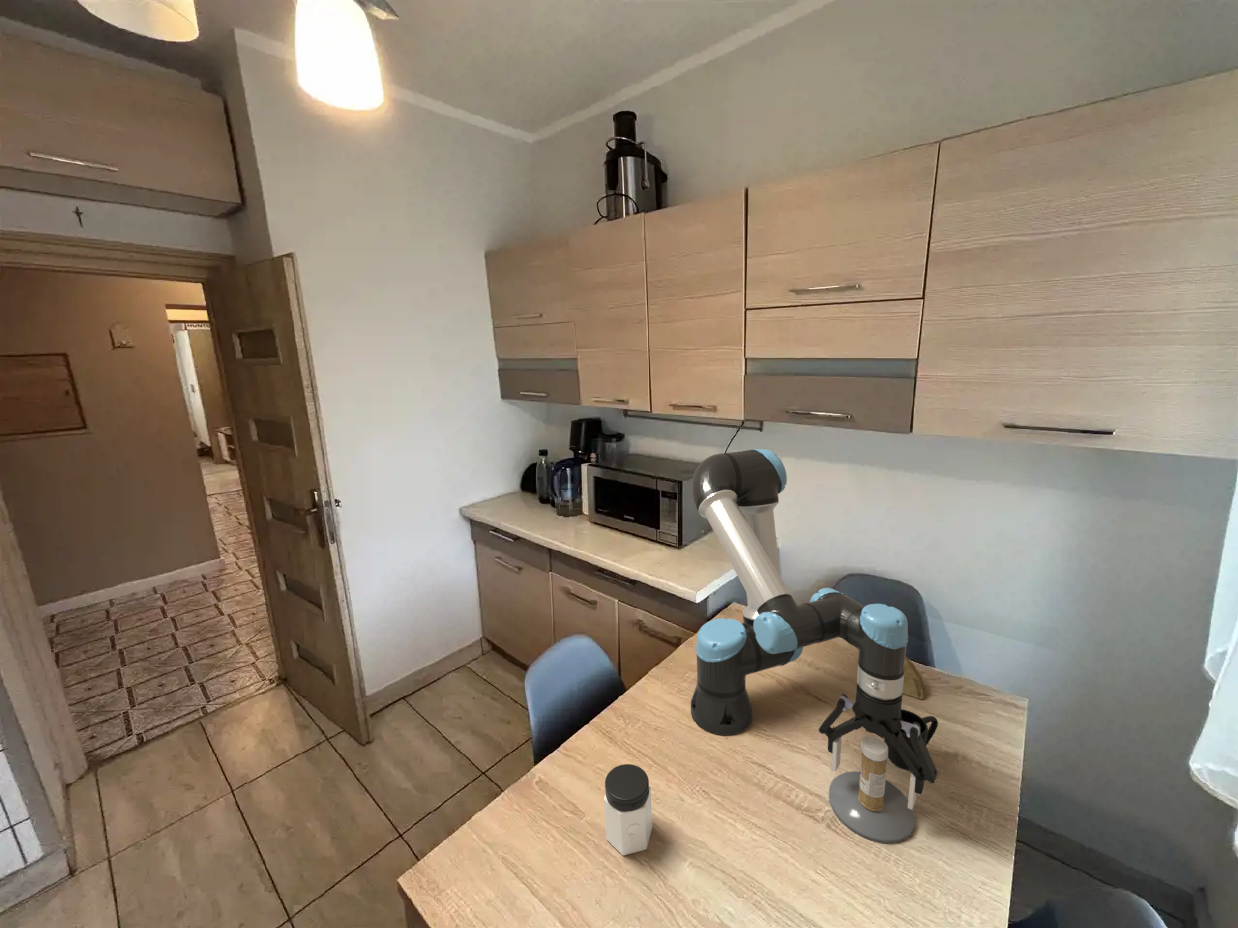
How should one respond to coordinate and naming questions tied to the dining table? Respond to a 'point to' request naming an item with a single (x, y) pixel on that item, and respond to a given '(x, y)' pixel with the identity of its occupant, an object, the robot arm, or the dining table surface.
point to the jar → (628, 808)
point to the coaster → (872, 825)
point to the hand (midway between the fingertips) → (872, 784)
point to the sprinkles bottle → (873, 773)
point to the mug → (925, 734)
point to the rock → (912, 681)
